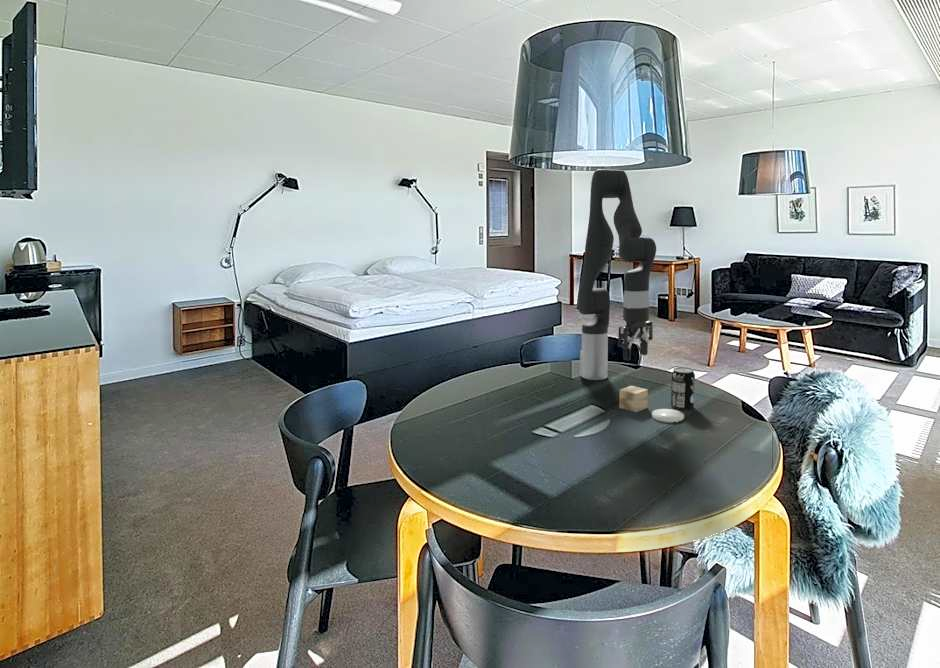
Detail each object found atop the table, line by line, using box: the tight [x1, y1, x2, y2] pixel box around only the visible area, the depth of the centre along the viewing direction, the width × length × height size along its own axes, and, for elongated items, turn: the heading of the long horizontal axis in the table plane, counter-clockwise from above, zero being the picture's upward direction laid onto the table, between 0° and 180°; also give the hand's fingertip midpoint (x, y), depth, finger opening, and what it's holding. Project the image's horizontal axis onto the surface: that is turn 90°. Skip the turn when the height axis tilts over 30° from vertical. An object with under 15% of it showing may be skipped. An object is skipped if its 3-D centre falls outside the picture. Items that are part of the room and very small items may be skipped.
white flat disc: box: [651, 408, 685, 424], centre depth 163 cm, size 9×9×1 cm
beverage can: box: [670, 366, 696, 410], centre depth 170 cm, size 7×7×12 cm
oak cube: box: [618, 385, 649, 413], centre depth 172 cm, size 6×6×6 cm
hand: (635, 357), depth 169 cm, fingers open, 8 cm apart
